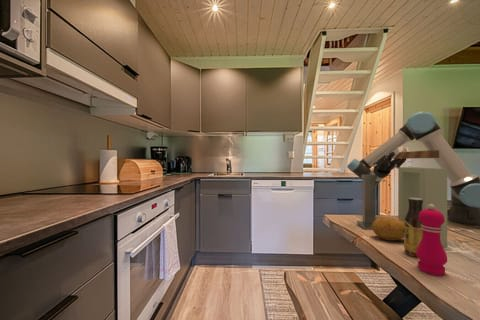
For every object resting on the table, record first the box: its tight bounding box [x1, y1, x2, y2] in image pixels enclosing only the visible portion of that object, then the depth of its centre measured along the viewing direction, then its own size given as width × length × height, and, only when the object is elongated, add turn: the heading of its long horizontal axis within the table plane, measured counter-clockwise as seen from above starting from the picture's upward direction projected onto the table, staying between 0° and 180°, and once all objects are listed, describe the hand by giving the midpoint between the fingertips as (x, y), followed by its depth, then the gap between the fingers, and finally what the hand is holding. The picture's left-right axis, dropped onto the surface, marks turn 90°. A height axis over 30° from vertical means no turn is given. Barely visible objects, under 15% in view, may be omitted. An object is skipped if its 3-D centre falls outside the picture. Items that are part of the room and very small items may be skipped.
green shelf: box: [397, 166, 448, 247], centre depth 97 cm, size 17×8×30 cm, turn 176°
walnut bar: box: [389, 150, 439, 160], centre depth 103 cm, size 28×3×3 cm, turn 176°
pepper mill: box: [416, 204, 448, 276], centre depth 68 cm, size 7×7×20 cm
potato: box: [372, 217, 404, 241], centre depth 95 cm, size 10×13×9 cm
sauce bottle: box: [403, 198, 423, 258], centre depth 80 cm, size 6×6×20 cm
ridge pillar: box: [356, 175, 377, 231], centre depth 113 cm, size 8×8×26 cm
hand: (403, 149), depth 108 cm, fingers closed on walnut bar, 3 cm apart
